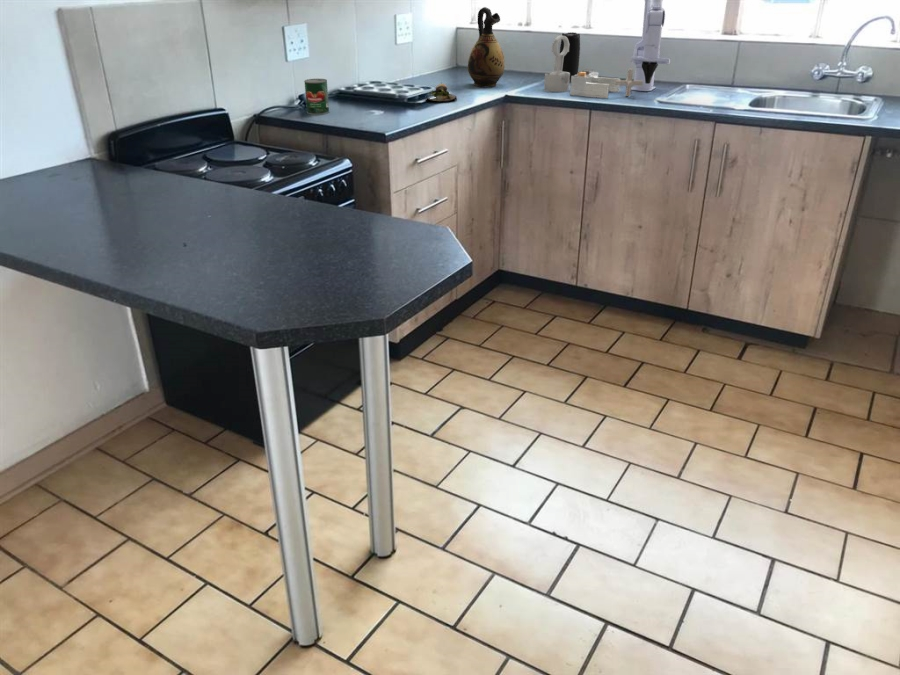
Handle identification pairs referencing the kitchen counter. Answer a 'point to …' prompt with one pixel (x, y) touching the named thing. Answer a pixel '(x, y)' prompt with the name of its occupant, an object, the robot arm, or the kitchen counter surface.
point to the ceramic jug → (486, 53)
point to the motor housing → (592, 85)
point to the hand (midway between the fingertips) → (647, 83)
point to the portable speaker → (571, 54)
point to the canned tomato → (316, 96)
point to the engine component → (558, 69)
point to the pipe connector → (629, 82)
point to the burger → (442, 94)
